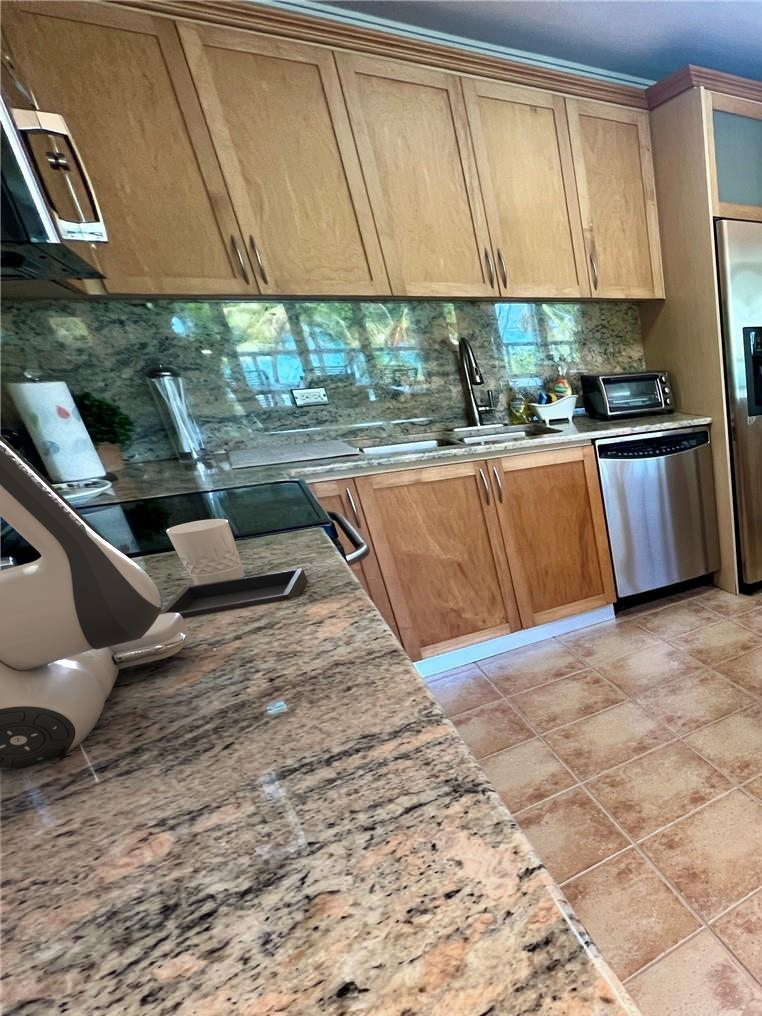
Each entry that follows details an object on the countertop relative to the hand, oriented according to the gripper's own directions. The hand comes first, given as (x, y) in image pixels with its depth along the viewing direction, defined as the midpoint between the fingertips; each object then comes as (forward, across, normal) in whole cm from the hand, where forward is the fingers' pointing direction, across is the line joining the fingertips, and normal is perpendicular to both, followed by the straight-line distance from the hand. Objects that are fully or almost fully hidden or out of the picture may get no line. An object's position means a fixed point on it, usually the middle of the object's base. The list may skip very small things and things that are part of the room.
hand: (84, 632), depth 81 cm
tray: (+14, -14, +5) cm, 20 cm away
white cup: (+31, -11, +5) cm, 33 cm away
